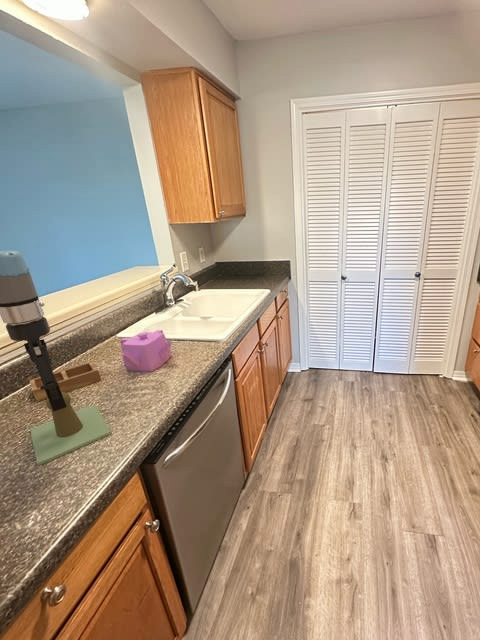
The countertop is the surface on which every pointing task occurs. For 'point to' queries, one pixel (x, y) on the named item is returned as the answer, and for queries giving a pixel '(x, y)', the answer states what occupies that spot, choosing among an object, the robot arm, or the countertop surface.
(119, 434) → the countertop surface
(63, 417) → the cork
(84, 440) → the drying mat
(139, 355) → the purple knobbed polyhedron
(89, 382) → the box
